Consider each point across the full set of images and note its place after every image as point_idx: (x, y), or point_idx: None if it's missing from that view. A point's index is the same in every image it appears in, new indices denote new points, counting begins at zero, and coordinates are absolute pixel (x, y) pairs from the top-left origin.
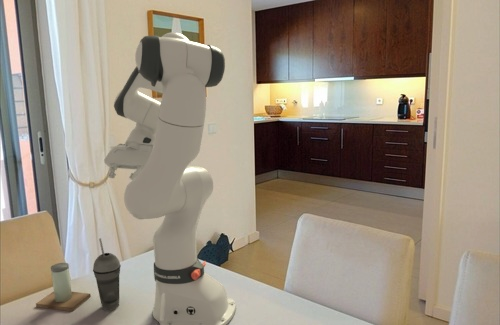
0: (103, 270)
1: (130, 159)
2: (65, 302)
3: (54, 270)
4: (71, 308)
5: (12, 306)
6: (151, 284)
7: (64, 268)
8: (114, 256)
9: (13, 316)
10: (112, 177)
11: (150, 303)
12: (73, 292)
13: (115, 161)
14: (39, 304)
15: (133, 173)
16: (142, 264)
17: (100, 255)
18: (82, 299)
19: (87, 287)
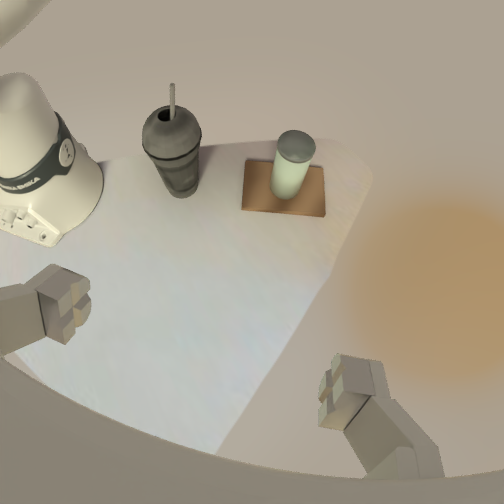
0: (166, 112)
1: (15, 454)
2: (270, 174)
3: (295, 131)
4: (247, 161)
5: (361, 171)
6: (132, 274)
7: (279, 139)
8: (148, 125)
9: (333, 147)
10: (327, 371)
11: (113, 203)
12: (280, 207)
13: (387, 496)
14: (315, 167)
15: (35, 287)
16: (198, 378)
17: (178, 111)
18: (244, 186)
19: (273, 245)
